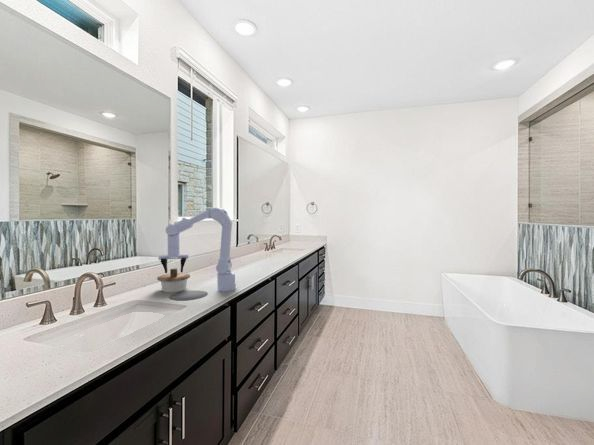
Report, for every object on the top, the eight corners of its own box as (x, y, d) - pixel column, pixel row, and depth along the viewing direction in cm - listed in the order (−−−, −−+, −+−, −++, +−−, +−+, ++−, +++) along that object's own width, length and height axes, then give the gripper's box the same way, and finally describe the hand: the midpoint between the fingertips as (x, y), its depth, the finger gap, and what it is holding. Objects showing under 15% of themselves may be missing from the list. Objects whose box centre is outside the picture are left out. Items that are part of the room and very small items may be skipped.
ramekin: (181, 294, 145) (181, 280, 145) (155, 294, 145) (155, 280, 145) (191, 287, 158) (191, 275, 158) (167, 287, 159) (167, 275, 158)
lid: (191, 274, 161) (191, 265, 161) (188, 280, 146) (188, 270, 146) (160, 275, 157) (160, 267, 157) (154, 282, 142) (153, 272, 142)
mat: (209, 290, 151) (208, 289, 151) (206, 300, 134) (206, 299, 134) (172, 292, 147) (172, 291, 147) (165, 303, 129) (165, 302, 129)
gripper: (157, 248, 146) (157, 274, 146) (187, 247, 149) (187, 273, 149) (160, 246, 152) (160, 272, 153) (188, 246, 156) (189, 270, 156)
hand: (174, 272), depth 152 cm, fingers open, 7 cm apart
